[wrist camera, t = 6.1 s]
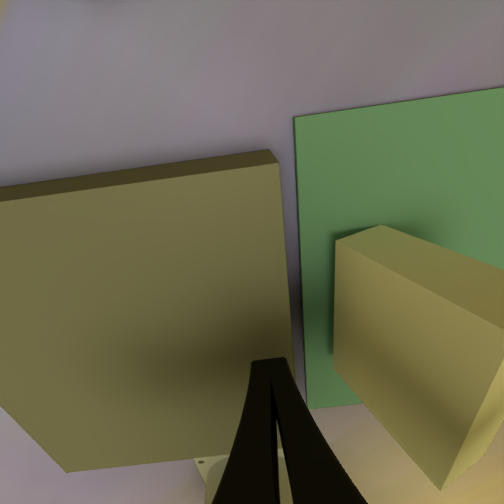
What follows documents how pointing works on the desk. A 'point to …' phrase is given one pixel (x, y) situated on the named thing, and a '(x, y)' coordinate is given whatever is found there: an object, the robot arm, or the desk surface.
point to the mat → (392, 197)
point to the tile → (422, 345)
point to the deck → (141, 307)
